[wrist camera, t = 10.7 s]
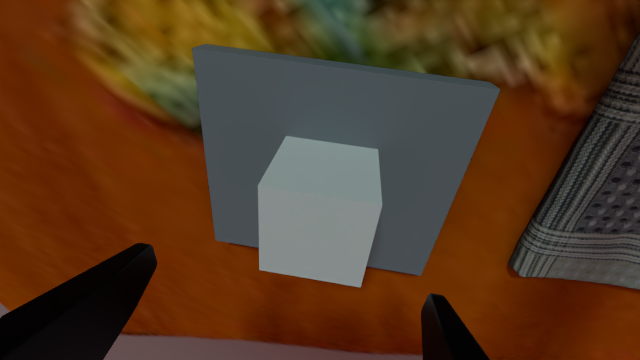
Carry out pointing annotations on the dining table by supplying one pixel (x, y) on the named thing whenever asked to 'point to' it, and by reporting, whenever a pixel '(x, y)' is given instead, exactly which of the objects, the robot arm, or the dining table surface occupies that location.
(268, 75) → the slate board
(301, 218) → the white cube
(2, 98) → the dining table surface
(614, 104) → the dish towel
